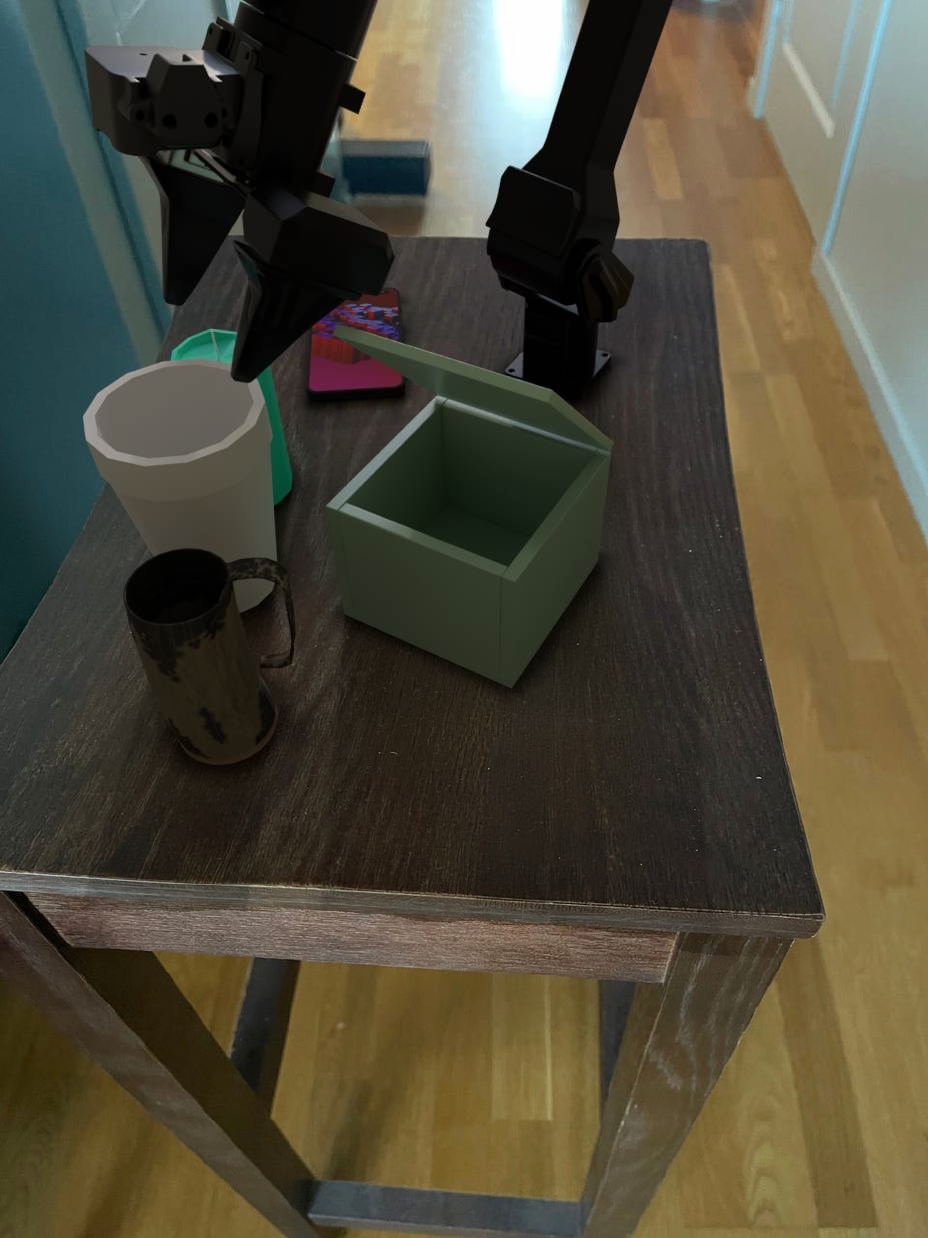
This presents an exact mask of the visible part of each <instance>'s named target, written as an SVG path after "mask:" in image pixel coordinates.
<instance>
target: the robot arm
mask: <svg viewBox="0 0 928 1238" xmlns="http://www.w3.org/2000/svg"><path fill="white" fill-rule="evenodd" d="M378 2H379V0H240V1H239V3H238V6H237V10H236V13H235V16H234V21H233V22H231V21H229V20H227V19H225V18H224V17H221V16H219V15H217V16H216V19H215V22H213V21H212V22H210V23H209V25H208V27H207V29H206V33H205V37H204V41H203V43H202V46H201V49H197V48H181V47H174V46H163V45H161V46H156V45H155V46H153V45H150V46H149V45H89V46H86V47H84V49H83V54H84V64H85V72H86V81H87V89H88V98H89V108H90V116H91V123H92V124H91V125H92V127H93V129H94V130H95V131H96V132H101V133H102V134H104V135H105V136H106V138H108V140H109V141H110V143H111V147H112V148H114V150H115V151H117V152H119V153H120V154H123V155H127V156H130V157H131V156H132V157H137V158H138V159H139V160H140V162H141V163H142V165H143V166H144V168H145V169H146V171H147V174H148V175H149V176H150V178H151V180H152V181H153V183H154V185H155V186H156V188H157V192H158V196H159V208H160V226H161V262H162V263H161V272H162V273H161V274H162V275H161V276H162V299H163V301H164V302H165V303H166V304H168V305H171V306H176V307H182V306H184V305H185V303H186V302H187V301H188V299H189V298H190V297H191V295H192V293H193V292H194V291H195V290H196V288H197V286H198V285H199V283H200V282H201V280H202V278H203V276H204V275H205V273H206V272H207V271H208V269H209V267H210V266H211V263H212V262H213V261H214V258H215V257H216V255H217V254H218V251H220V249H221V247H222V246H223V244H224V242H225V240H226V239H227V237H228V236H229V234H230V232H231V230H232V229H233V228H234V226H235V224H236V222H237V221H238V219H239V218H240V216H241V219H242V220H241V221H242V222H241V223H242V229H243V230H242V233H243V240H244V242H243V241H239V240H235V239H233V240H232V243H233V247H234V250H235V252H236V255H237V257H238V258H239V260H240V263H241V265H242V267H243V269H244V271H245V274H246V276H247V287H246V291H245V297H244V301H243V305H242V310H241V314H240V315H241V316H240V318H239V319H240V321H239V324H238V327H237V328H238V329H237V332H238V333H237V337H236V342H235V347H234V352H233V358H232V365H231V373H230V375H231V378H232V379H233V380H234V381H237V382H242V383H251V382H252V381H253V380H255V379H256V378H257V377H258V376H259V375H260V374H261V373H262V372H263V371H264V370H265V369H266V368H267V367H268V366H270V367H271V365H272V364H273V363H275V361H276V360H278V358H279V357H280V356H282V355H283V354H284V353H285V352H286V351H287V350H288V349H289V348H290V347H291V346H292V345H294V344H295V342H297V341H298V339H300V338H302V336H304V335H305V333H307V332H309V329H310V328H311V327H312V326H314V325H315V324H316V323H317V322H319V321H320V320H321V319H323V318H324V317H325V316H326V315H328V314H329V313H330V312H332V311H333V310H334V309H335V308H337V307H338V306H339V305H341V304H342V303H343V302H344V301H346V300H350V301H354V302H357V301H359V299H360V298H361V296H362V294H363V293H366V294H369V295H373V296H379V295H380V294H381V291H382V289H383V288H384V286H385V285H386V282H387V278H388V276H389V274H390V272H391V271H390V270H391V269H392V266H393V264H394V261H395V259H396V257H395V253H394V250H393V247H392V244H391V241H390V237H389V234H388V232H386V231H385V230H383V229H382V228H381V227H380V226H378V225H377V224H376V223H374V222H373V221H371V220H370V219H369V218H368V217H367V216H365V215H364V214H363V213H361V212H360V211H358V210H357V209H356V208H355V207H353V206H352V205H349V204H346V203H344V202H341V201H338V200H335V199H333V198H330V197H331V194H332V191H333V189H334V186H335V183H336V178H335V177H334V176H332V174H330V173H328V172H327V171H326V170H325V169H324V168H322V166H323V164H324V161H325V158H326V155H327V152H328V149H329V146H330V143H331V141H332V138H333V134H334V131H335V129H336V125H337V123H338V119H339V118H340V114H341V111H342V108H343V109H345V110H346V111H348V112H349V111H350V112H351V113H353V114H355V115H360V112H361V109H362V106H363V103H364V100H365V97H366V94H367V92H366V91H364V90H362V89H360V88H359V87H357V86H355V85H354V84H353V83H351V81H352V80H353V76H354V73H355V70H356V68H357V64H358V60H359V59H360V55H361V52H362V49H363V46H364V43H365V40H366V38H367V34H368V32H369V30H370V26H371V23H372V20H373V17H374V14H375V11H376V8H377V5H378ZM673 2H674V0H588V1H587V6H586V9H585V12H584V15H583V18H582V22H581V25H580V28H579V30H578V31H579V32H578V34H577V38H576V41H575V45H574V46H573V47H574V48H573V50H572V53H571V58H570V60H569V63H568V67H567V69H566V73H565V76H564V79H563V82H562V85H561V86H562V87H561V89H560V93H559V96H558V99H557V102H556V105H555V108H554V111H553V114H552V117H551V121H550V124H549V128H548V131H547V134H546V137H545V140H544V143H543V144H542V147H541V148H540V149H538V151H537V152H536V153H535V154H534V155H533V156H531V158H530V159H529V160H528V161H526V162H527V163H525V164H524V166H522V167H521V168H519V167H517V166H515V165H512V164H509V165H507V167H505V168H506V169H504V171H503V173H502V174H501V176H500V180H499V184H498V190H497V195H496V198H495V203H494V205H493V208H492V211H491V212H490V215H489V216H488V218H487V219H486V221H485V224H484V225H485V227H487V228H489V230H488V235H487V239H486V255H487V256H489V260H490V263H491V266H492V269H493V270H494V272H495V273H496V274H497V278H498V282H499V284H500V287H501V289H503V290H505V291H510V292H512V293H513V294H516V295H518V296H520V297H523V298H524V311H523V339H522V340H523V341H522V343H523V344H522V351H521V352H520V353H519V355H518V356H517V357H516V358H515V359H514V360H512V362H511V363H510V364H509V365H508V366H507V367H506V368H505V371H504V375H505V376H509V377H512V378H515V379H518V380H521V381H525V382H528V383H531V384H534V385H537V386H541V387H544V388H547V389H550V390H552V391H554V392H555V393H556V394H557V395H559V396H563V397H566V398H569V399H574V400H576V399H580V398H581V397H582V396H583V395H584V393H585V392H586V391H587V390H588V389H589V388H590V386H592V384H593V383H594V381H596V379H597V378H598V377H599V375H601V373H602V372H603V371H604V369H605V368H606V367H608V365H609V364H610V362H611V361H612V354H611V352H609V351H606V350H603V349H600V348H598V341H599V340H598V339H599V330H600V324H602V323H603V324H604V323H613V322H614V321H616V320H617V319H618V313H619V310H621V309H622V308H625V307H626V306H627V304H628V301H629V298H630V296H631V293H632V292H631V291H632V288H633V285H634V282H635V278H636V277H635V275H634V273H632V272H631V271H630V269H629V268H628V267H627V265H625V264H624V263H623V262H622V260H621V259H620V258H618V256H617V255H616V254H615V253H614V252H613V249H614V247H615V242H616V239H617V234H618V231H619V227H620V224H621V223H620V222H621V216H620V207H619V200H618V193H617V187H616V179H615V169H616V165H617V162H618V160H619V156H620V153H621V150H622V147H623V145H624V142H625V139H626V136H627V133H628V131H629V128H630V125H631V122H632V120H633V116H634V114H635V110H636V108H637V104H638V102H639V99H640V96H641V94H642V92H643V91H642V90H643V88H644V85H645V82H646V79H647V76H648V74H649V71H650V67H651V64H652V62H653V60H654V57H655V53H656V51H657V48H658V45H659V42H660V39H661V36H662V33H663V31H664V28H665V25H666V22H667V20H668V16H669V14H670V11H671V8H672V5H673ZM241 214H242V215H241Z"/></svg>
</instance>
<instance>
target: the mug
mask: <svg viewBox="0 0 928 1238" xmlns="http://www.w3.org/2000/svg"><path fill="white" fill-rule="evenodd" d="M242 579H265V580H269V581H272V582H274V583H275V584H274V585H277V586H278V588H279V589H281V590H282V595H283V600H284V604H285V609H286V610H285V611H286V614H287V621H288V625H289V634H290V647H289V650H287V651H285V652H283V653H274V654H273V653H272V654H271V653H270V654H261V656H260V662H259V668H258V665H257V663H256V660H255V657H254V654H253V652H252V649H251V647H250V644H249V642H248V637H247V635H246V631H245V628H244V624H243V620H242V618H241V613H239V610H238V606H237V603H236V597H235V590H234V584H233V582H234V581H236V580H242ZM126 580H127V581H126V583H125V584H124V587H123V594H122V595H123V596H122V599H123V604H124V609H125V612H126V617H127V621H128V625H129V629H130V633H131V636H132V639H133V642H134V645H135V647H136V650H137V653H138V656H139V659H140V661H141V664H142V668H143V670H144V673H145V675H146V678H147V681H148V683H149V685H150V688H151V690H152V692H153V694H154V696H155V698H156V700H157V702H158V705H159V707H160V710H161V712H162V713H163V716H164V718H165V719H166V720H167V723H168V724H169V726H170V728H171V729H172V731H173V732H174V734H175V736H176V737H177V740H178V742H179V744H180V746H181V749H183V751H184V752H185V753H186V754H187V755H188V756H189V757H191V758H193V759H194V760H195V761H197V762H201V763H203V764H206V765H207V764H208V765H214V766H224V765H225V766H226V765H231V764H236V763H239V762H241V761H245V760H246V759H249V758H250V757H252V756H254V755H255V754H257V753H258V752H260V751H261V750H262V749H263V748H264V747H265V746H266V745H267V744H268V743H269V742H270V740H271V738H272V737H273V736H274V733H275V731H276V729H277V726H278V721H279V715H278V713H279V712H278V707H277V705H276V702H275V700H274V698H273V695H272V693H271V692H270V689H269V687H268V686H267V684H266V682H265V680H264V679H263V676H262V675H261V673H260V670H259V669H283V668H286V667H288V666H290V665H292V664H293V660H294V653H295V642H296V635H297V631H296V620H295V618H296V617H295V609H294V603H293V598H292V591H291V585H290V579H289V574H288V571H287V569H286V568H285V566H283V565H282V564H281V563H280V562H279V561H278V560H277V561H274V560H271V559H268V558H255V557H253V558H243V559H239V560H236V561H233V562H229V563H226V562H225V561H224V560H223V559H222V558H221V557H220V556H218V555H216V554H214V553H212V552H210V551H206V550H202V549H193V548H184V549H176V550H171V551H168V552H164V553H161V554H158V555H156V556H155V557H151V558H149V559H147V560H145V561H144V562H143V563H141V564H139V566H138V567H136V568H135V569H134V571H133V572H132V573H131V574H130V576H128V578H127V579H126Z"/></svg>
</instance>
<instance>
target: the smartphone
mask: <svg viewBox="0 0 928 1238" xmlns="http://www.w3.org/2000/svg"><path fill="white" fill-rule="evenodd" d="M402 313H403V311H402V306H401V293H400V290H398V288H396V287H391V286H388V287H383V289H382V291H381V294H380V295H379V296H373V295H369V294H366V293H363V294H362V296H361V298H360V299H359V301H357V302H354V301H350V300H346V301H344V302H343V303H342V304H341V305H339V306H338V307H337V308H335V309H334V310H333V311H332V312H330V313H329V314H328V315H326V316H325V317H324V318H323V319H321V320H320V321H319V322H317V323H316V324H315V325H314V326H312V327H311V328H310V329H309V330H308V336H309V337H308V338H309V339H308V351H307V353H308V355H307V371H306V389H305V390H306V394H307V396H308V397H309V399H311V400H316V401H323V400H340V399H342V400H343V399H357V398H372V397H373V398H374V397H390V396H397V395H401V394H402V393H404V392H405V390H406V377H405V376H403V375H401V374H399V373H398V372H396V371H394V370H393V369H391V368H389V367H387V366H386V365H384V364H382V363H381V362H379V361H377V360H375V359H374V358H372V357H370V356H369V355H367V354H365V353H364V352H362V351H360V350H358V349H357V348H355V347H353V346H352V345H350V344H348V343H346V342H345V341H343V340H341V339H340V338H338V337H336V336H334V334H333V333H334V330H335V327H336V324H337V323H339V324H342V325H345V326H348V327H352V328H355V329H358V330H361V331H364V332H368V333H371V334H374V335H377V336H380V337H384V338H387V339H390V340H393V341H396V342H400V343H403V344H404V333H403V325H402Z"/></svg>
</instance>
